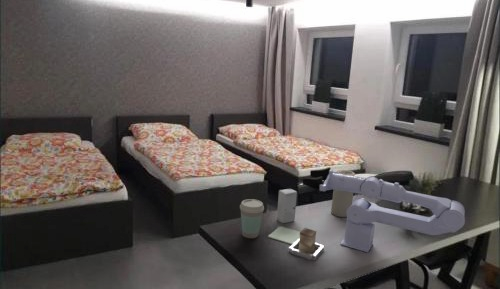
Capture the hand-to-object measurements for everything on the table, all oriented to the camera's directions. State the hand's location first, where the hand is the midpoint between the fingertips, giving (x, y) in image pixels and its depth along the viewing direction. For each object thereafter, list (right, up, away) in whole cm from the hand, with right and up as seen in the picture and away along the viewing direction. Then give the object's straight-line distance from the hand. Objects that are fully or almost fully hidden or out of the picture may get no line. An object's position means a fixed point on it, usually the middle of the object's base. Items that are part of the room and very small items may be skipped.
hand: (306, 177), depth 137 cm
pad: (-8, -21, -1) cm, 22 cm away
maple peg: (-2, -24, -11) cm, 26 cm away
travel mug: (+17, -17, +21) cm, 32 cm away
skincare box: (-7, -18, +12) cm, 22 cm away
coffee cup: (-21, -20, -2) cm, 29 cm away
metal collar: (-2, -24, -11) cm, 26 cm away
